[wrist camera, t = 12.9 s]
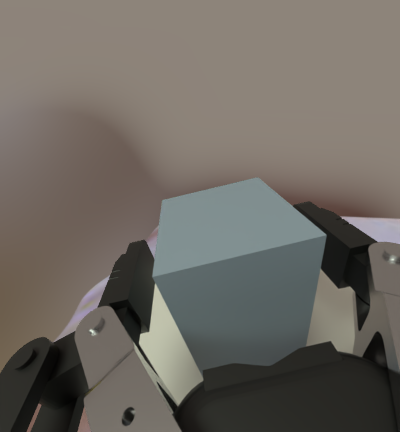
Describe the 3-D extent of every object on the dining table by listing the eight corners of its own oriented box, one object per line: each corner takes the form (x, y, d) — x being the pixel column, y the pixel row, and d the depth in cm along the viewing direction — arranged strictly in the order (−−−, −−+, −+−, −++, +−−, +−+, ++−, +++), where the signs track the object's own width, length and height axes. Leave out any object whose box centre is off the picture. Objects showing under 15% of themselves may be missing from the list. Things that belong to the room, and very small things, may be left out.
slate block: (263, 297, 15) (257, 177, 9) (300, 376, 10) (326, 235, 5) (201, 311, 15) (162, 200, 9) (212, 397, 10) (152, 277, 5)
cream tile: (296, 237, 21) (297, 230, 20) (653, 622, 5) (694, 634, 5) (139, 274, 21) (136, 268, 20) (35, 753, 5) (10, 777, 5)
